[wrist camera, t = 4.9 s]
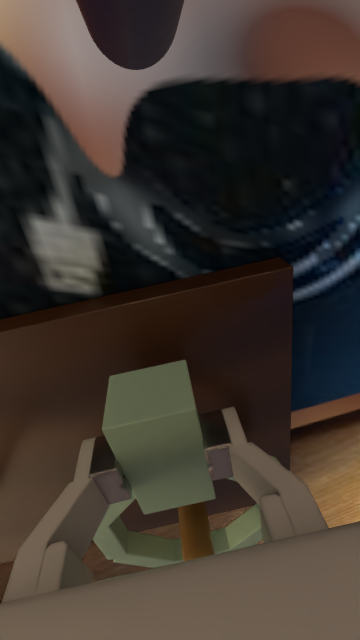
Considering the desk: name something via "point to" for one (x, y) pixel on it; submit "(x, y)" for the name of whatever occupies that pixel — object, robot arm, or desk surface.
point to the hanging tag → (161, 464)
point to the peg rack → (134, 354)
